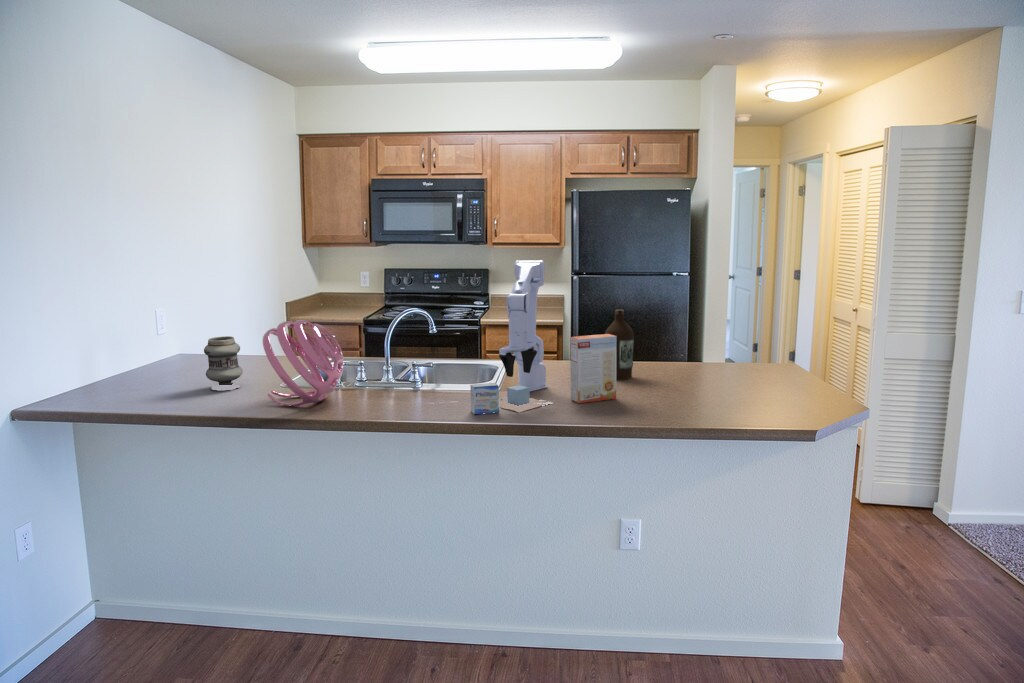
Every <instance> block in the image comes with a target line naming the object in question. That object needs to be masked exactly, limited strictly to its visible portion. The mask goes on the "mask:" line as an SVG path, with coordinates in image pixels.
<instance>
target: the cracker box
mask: <svg viewBox="0 0 1024 683" xmlns="http://www.w3.org/2000/svg"><path fill="white" fill-rule="evenodd" d="M569 340H570V341H569V342H570V349H569V350H570V401H573V402H574V403H577V404H584V403H595V402H601V401H602V400H603V401H611V400H610V399H612V400H616V399H617V380H616V341H617V336H614V335H611V334H605V333H603V334H591V335H578V336H570V339H569Z"/></svg>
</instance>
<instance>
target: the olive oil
mask: <svg viewBox="0 0 1024 683" xmlns="http://www.w3.org/2000/svg"><path fill="white" fill-rule="evenodd" d="M614 312H615V313H614V321H612V323H611V324H610V325H609V326H608V327H607V328H606V330H605V333H604V334H611V335H614V336H617V341H616V381H624V380H625V381H626V380H630V379H632V376H633V372H632V371H633V366H634V362H633V358H634V346H635V345H634V343H635V342H634V341H635V334H634V331H633V329H632V327H630V325H629V324H628V323H627V322H626V321H625V309H615V310H614Z"/></svg>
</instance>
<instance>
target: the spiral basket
mask: <svg viewBox="0 0 1024 683" xmlns="http://www.w3.org/2000/svg"><path fill="white" fill-rule="evenodd" d="M303 324H304V325H306V326H307V327H308V328H310V329H311V332H312V334H313V336H314V337H313V336H312V335H311V334H310V333H309V332H308V331H306V330H305V329H304V326H303ZM286 327H289V328H291V329H293V330H294V334H295V335H296V338H297V340H298V341H297V340H295V338H293V337H292V336H291V335H289V334H288V333H287V332H286V330H285V329H286ZM322 331H323V332H324V333H325V334H324V333H323V332H322ZM270 335H273V336H276V337H277V340H278V342H279V345H280V347H281V350H282V351H283V353H284V355H285V357H286V358H287V360H288V361H289V362H290V364H291V365H292V367H293V368H294V369H295V371H296V372H297V373H298V374H299V375H300V377H301V378H303V380H304V381H305V382H306V383H308V384H309V385H310V386H311V387H312V388H314V389H312V390H309V391H304V390H303V389H302V388H301V387H300V386H299V385H298V384H297V383H296V382H295V381H294V380H293V379H292V378H291V377H290V375H289V374H288V373H287V372H286V370H285V369H284V368H283V366H282V365H281V363H280V361H279V360H278V357H277V356H276V354H275V352H274V350H273V347H272V344H271V341H270V340H271V339H270ZM326 335H327V336H328V337H327V336H326ZM314 338H315V339H314ZM328 338H330V340H331V341H332V342H333V344H334V345H335V346H334V345H333V344H332V343H331V341H330V340H329V339H328ZM262 347H263V350H264V353H265V355H266V358H267V360H268V362H269V363H270V365H271V367H272V368H273V370H274V371H275V373H276V374H277V376H278V377H279V378H280V379H281V381H282V382H283V383H284V384H285V386H286V387H287V388H288V389H289V390H291V391H292V392H293V393H292V394H289V393H281V392H277V391H273V390H272V391H270V393H268V394H267V396H268V397H269V399H270V400H272V401H273V402H274V403H276V404H277V405H280V404H283V405H291V406H296V407H301V406H300V405H302V406H305V405H310V404H318V403H317V402H319V403H321V402H322V401H323V400H324V399H326V396H327V395H328V394H331V393H333V392H334V390H335V389H336V387H337V386H338V380H339V379H341V377H342V376H343V371H344V353H343V350H342V348H341V346H340V344H339V342H338V341H337V340H336V338H335V337H334V336H333V334H332V333H331V332H330V331H329V330H328V329H327V328H325V327H324V326H323V325H321V324H320V323H319V324H318V323H312V322H311V321H308V320H306V319H298V320H295V321H290V320H289V321H288V320H287V321H283V322H280V323H279V324H277V327H276V328H274V327H273V328H270V329H268V330H267V331H265V333H264V334H263V336H262ZM294 351H295V352H296V353H295V352H294ZM297 354H298V356H299V357H300V358H301V360H302V361H303V362H301V360H300V359H299V357H298V356H297ZM329 358H330V359H331V360H332V361H333V364H332V363H331V361H330V359H329ZM303 363H304V364H305V365H306V366H305V365H304V364H303ZM320 371H321V372H322V373H323V374H324V375H326V376H327V379H326V381H324V378H323V377H322V374H321V372H320ZM271 394H273V395H275V396H278V397H282V398H285V397H291V396H299V397H300V398H299V399H301V401H299V402H293V403H292V402H291V403H289V402H287V403H286V402H283V401H280V400H278V399H277V398H275V397H274V396H273V395H271ZM320 401H321V402H320ZM283 405H282V406H283Z"/></svg>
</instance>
